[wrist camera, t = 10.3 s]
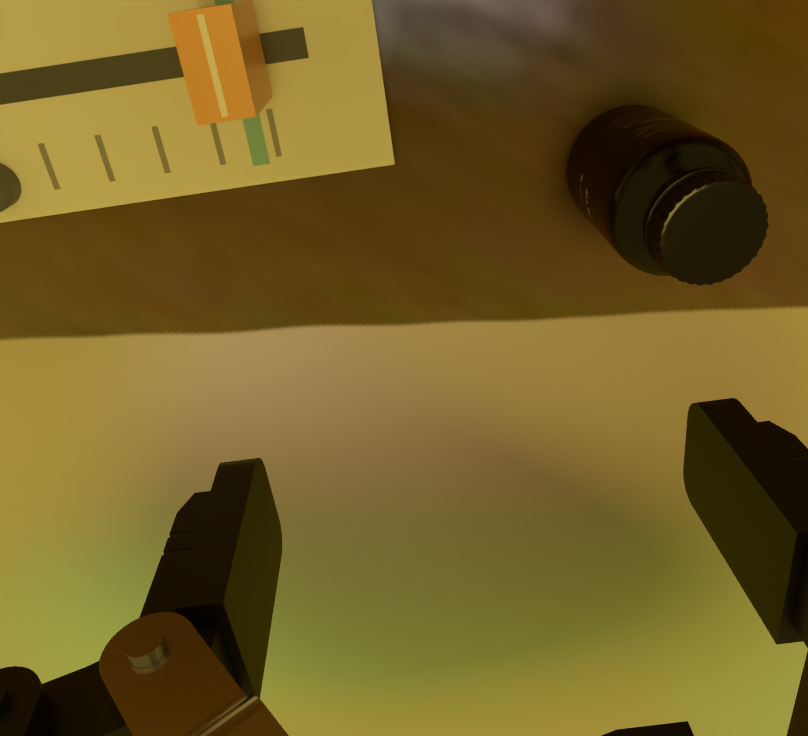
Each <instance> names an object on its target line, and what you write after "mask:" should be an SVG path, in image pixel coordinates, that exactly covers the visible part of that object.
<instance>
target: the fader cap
mask: <svg viewBox="0 0 808 736" xmlns="http://www.w3.org/2000/svg"><path fill="white" fill-rule="evenodd" d="M168 18H169V21H170V25H171V29H172V33H173V36H174V40H175V44H176V48H177V52H178V55H179V59H180V63H181V67H182V70H183V74H184V78H185V82H186V85H187V89H188V93H189V97H190V100H191V104H192V108H193V112H194V116H195V119H196V123H197V126H198V125H205V124H212V123H218V122H225V121H232V120H238V119H245V118H252V117H256V116H257V115H258V114H259V113H260V111H261V110H262V109H263V108H264V106H265V105H266V104H267V103H268V101H269V100H270V99H271V98H272V97H273V96H272V91H271V87H270V82H269V77H268V73H267V68H266V63H265V58H264V54H263V49H262V44H261V40H260V35H259V30H258V25H257V21H256V16H255V11H254V7H253V2H252V0H246V1H240V2H233V3H227V4H221V5H214V6H208V7H201V8H195V9H190V10H184V11H179V12H174V13H168Z"/></svg>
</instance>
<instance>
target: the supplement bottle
mask: <svg viewBox="0 0 808 736" xmlns="http://www.w3.org/2000/svg"><path fill="white" fill-rule="evenodd" d="M568 183H569V188H570V192H571V195H572V197H573V199H574V201H575V203H576V205H577V206H578V208H579V209H580V210H581V212H582V213H583V214H584V215H585V216H586V218H587V219H588V220H589V221H590V222H591V223H592V224H593V225H594V227H595V228H596V229H597V230H598V231H599V232H600V233H601V234H602V236H603V237H604V238H605V239H606V240H607V241H608V242H609V244H610V245H611V246H612V247H613V248H614V249H615V250H616V251H617V252H618V254H619V255H620V256H621V257H622V258H623V259H624V260H626V261H627V262H628V263H629V264H630V265H632V266H633V267H635V268H637V269H639V270H641V271H643V272H646V273H649V274H653V275H658V276H672V277H675V278H677V279H678V280H679V281H681V282H687V283H688V284H697V285H704V284H708V285H711V284H713V283H715V282H722V281H723V280H725V279H728V278H731V277H732V276H733V275H734V274H736V273H739V272H741V271H742V269H743V268H744V267H745V266H747V265H749V264H750V262H751V260H752V259H753V258H754V257H755V256H757V253H758V250H759V249H760V248H761V247H762V245H763V240H764V239H765V237H766V230H767V228H768V222H767V219H768V213H767V212H766V204H765V203H764V202H763V199H762V196H761V195H760V194H758V193H757V191H756V189H755V188H754V187H752V181H751V176H750V173H749V170H748V168H747V166H746V164H745V162H744V161H743V159H742V158H741V156H740V155H739V154H738V153H737V152H736V151H735V150H734V149H733V148H732V147H730V146H729V145H728V144H726V143H725V142H723V141H721V140H720V139H718V138H716V137H714V136H712V135H710V134H708V133H706V132H704V131H702V130H700V129H697V128H695V127H693V126H691V125H689V124H687V123H685V122H683V121H681V120H679V119H677V118H675V117H673V116H671V115H669V114H667V113H665V112H662V111H660V110H658V109H655V108H651V107H646V106H627V107H623V108H619V109H616V110H613V111H611V112H609V113H607V114H605V115H603V116H602V117H600V118H599V119H597V120H596V121H595V122H594V123H592V124H591V125H590V126H589V127H588V128H587V129H586V131H585V132H584V133H583V134H582V136H581V137H580V138H579V140H578V142H577V143H576V145H575V147H574V150H573V152H572V155H571V158H570V162H569V168H568Z"/></svg>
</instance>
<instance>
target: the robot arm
mask: <svg viewBox="0 0 808 736" xmlns="http://www.w3.org/2000/svg"><path fill="white" fill-rule="evenodd" d="M683 475H684V483H685V488H686V492H687V495H688V498H689V500H690V502H691V504H692V506H693V508H694V509H695V511H696V513H697V514H698V516H699V518H700V519H701V521H702V523H703V524H704V526H705V527H706V529H707V531H708V532H709V534H710V536H711V537H712V539H713V541H714V542H715V544H716V545H717V547H718V549H719V550H720V552H721V554H722V555H723V557H724V559H725V560H726V562H727V563H728V565H729V567H730V568H731V570H732V572H733V574H734V575H735V577H736V578H737V580H738V582H739V583H740V585H741V587H742V588H743V590H744V592H745V593H746V595H747V596H748V598H749V600H750V601H751V603H752V605H753V606H754V608H755V610H756V611H757V613H758V615H759V616H760V618H761V619H762V621H763V623H764V624H765V626H766V628H767V629H768V631H769V633H770V634H771V636H772V638H773V639H774V641H775V643H776V644H784V643H792V642H801V641H804V643H805V644H806V646H807V648H808V449H807V448H806V447H805V445H804V444H803V443H802V442H801V441H800V440H799V439H798V438H797V437H796V436H795V435H793V434H792V433H789V432H788V431H786V430H784V429H783V428H781V427H779V426H777V425H775V424H774V423H771V422H770V421H764V422H757V421H756V420H755V419H754V418H753V417H752V416H751V414H750V413H749V412H748V411H747V410H746V409H745V407H744V406H743V405H742V404H741V403H740V402H739V401H738V400H737V399H735V398H730V399H722V400H714V401H707V402H699V403H693V404H691V406H690V408H689V411H688V419H687V432H686V444H685V457H684V469H683ZM281 555H282V533H281V526H280V521H279V517H278V513H277V509H276V506H275V502H274V498H273V495H272V491H271V488H270V484H269V480H268V477H267V473H266V469H265V466H264V464H263V461H262V460H261V459H260V458H255V459H248V460H240V461H231V462H224V463H220V464H219V466H218V469H217V472H216V475H215V479H214V482H213V485H212V488H211V491H207V492H199V493H194V494H193V496H192V497H191V498H190V499H189V500H188V501H187V502H186V504H185V505H184V506H183V507H182V508H181V509H180V510H179V511H178V513H177V515H176V517H175V520H174V523H173V526H172V529H171V531H170V538H168V540H167V542H166V545H165V548H164V555H163V556H162V557H161V559H160V562H159V565H158V568H157V570H156V573H155V576H154V579H153V582H152V585H151V587H150V590H149V593H148V596H147V598H146V601H145V604H144V607H143V609H142V612H141V615H140V618H138V619H136V620H135V621H133V622H131V623H129V624H128V625H126V626H125V627H123V628H122V629H121V630H120V631H119V632H117V633H116V634H115V635H114V636H113V637H112V638H111V640H110V641H109V642H108V644H107V645H106V646H105V648H104V650H103V652H102V655H101V658H100V660H99V661H98V662H96V663H94V664H92V665H90V666H87V667H85V668H82V669H80V670H77V671H75V672H72V673H70V674H67V675H64V676H62V677H59V678H57V679H54V680H51V681H49V682H46V683H44V684H42V683H41V681H40V679H39V678H38V676H37V675H36V674H35V673H34V672H33V671H32V670H30V669H28V668H24V667H16V666H14V667H6V668H2V669H0V736H288V734H287V733H286V732H285V730H284V729H283V728H282V727H281V725H280V724H279V723H278V721H277V720H276V719H275V718H274V716H273V715H272V714H271V712H270V711H269V710H268V708H267V707H266V706H265V705H264V704H263V702H262V701H261V700H260V693H261V686H262V680H263V674H264V667H265V660H266V654H267V647H268V641H269V634H270V628H271V620H272V614H273V607H274V601H275V595H276V588H277V582H278V575H279V568H280V562H281ZM602 736H694V735H693V733H692V730H691V728H690V726H689V723H688V721H686V722H678V723H669V724H662V725H653V726H645V727H636V728H627V729H619V730H615V731H612V732H610V733H607V734H605V735H602ZM787 736H808V652H807V656H806V661H805V664H804V668H803V672H802V676H801V681H800V685H799V688H798V693H797V697H796V701H795V705H794V709H793V713H792V717H791V721H790V725H789V729H788V733H787Z"/></svg>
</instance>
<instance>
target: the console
mask: <svg viewBox="0 0 808 736" xmlns="http://www.w3.org/2000/svg"><path fill="white" fill-rule="evenodd" d="M240 1H246V0H0V223H1V222H8V221H15V220H21V219H28V218H35V217H42V216H49V215H55V214H62V213H69V212H76V211H82V210H89V209H96V208H103V207H110V206H116V205H123V204H130V203H137V202H143V201H150V200H157V199H164V198H171V197H177V196H184V195H191V194H198V193H204V192H211V191H218V190H225V189H232V188H238V187H245V186H252V185H259V184H265V183H272V182H279V181H286V180H292V179H299V178H306V177H313V176H320V175H326V174H333V173H340V172H347V171H353V170H360V169H367V168H374V167H381V166H387V165H394V164H395V162H394V155H393V148H392V141H391V133H390V126H389V119H388V112H387V105H386V98H385V91H384V83H383V76H382V69H381V62H380V55H379V48H378V41H377V33H376V26H375V19H374V12H373V5H372V0H252V2H253V7H254V11H255V16H256V21H257V25H258V30H259V35H260V40H261V44H262V49H263V54H264V58H265V63H266V68H267V73H268V77H269V82H270V87H271V91H272V96H273V97H272V98H271V99H270V100H269V101H268V103H267V104H266V105H265V106H264V108H263V109H262V110H261V111H260V113H259V114H258V115H257V116H256V117H252V118H245V119H238V120H232V121H225V122H218V123H212V124H205V125H198V126H197V123H196V119H195V116H194V112H193V108H192V104H191V100H190V97H189V93H188V89H187V85H186V82H185V78H184V74H183V70H182V67H181V63H180V59H179V55H178V52H177V48H176V44H175V40H174V36H173V33H172V29H171V25H170V21H169V18H168V13H174V12H179V11H184V10H190V9H195V8H201V7H208V6H214V5H221V4H227V3H233V2H240Z"/></svg>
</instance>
